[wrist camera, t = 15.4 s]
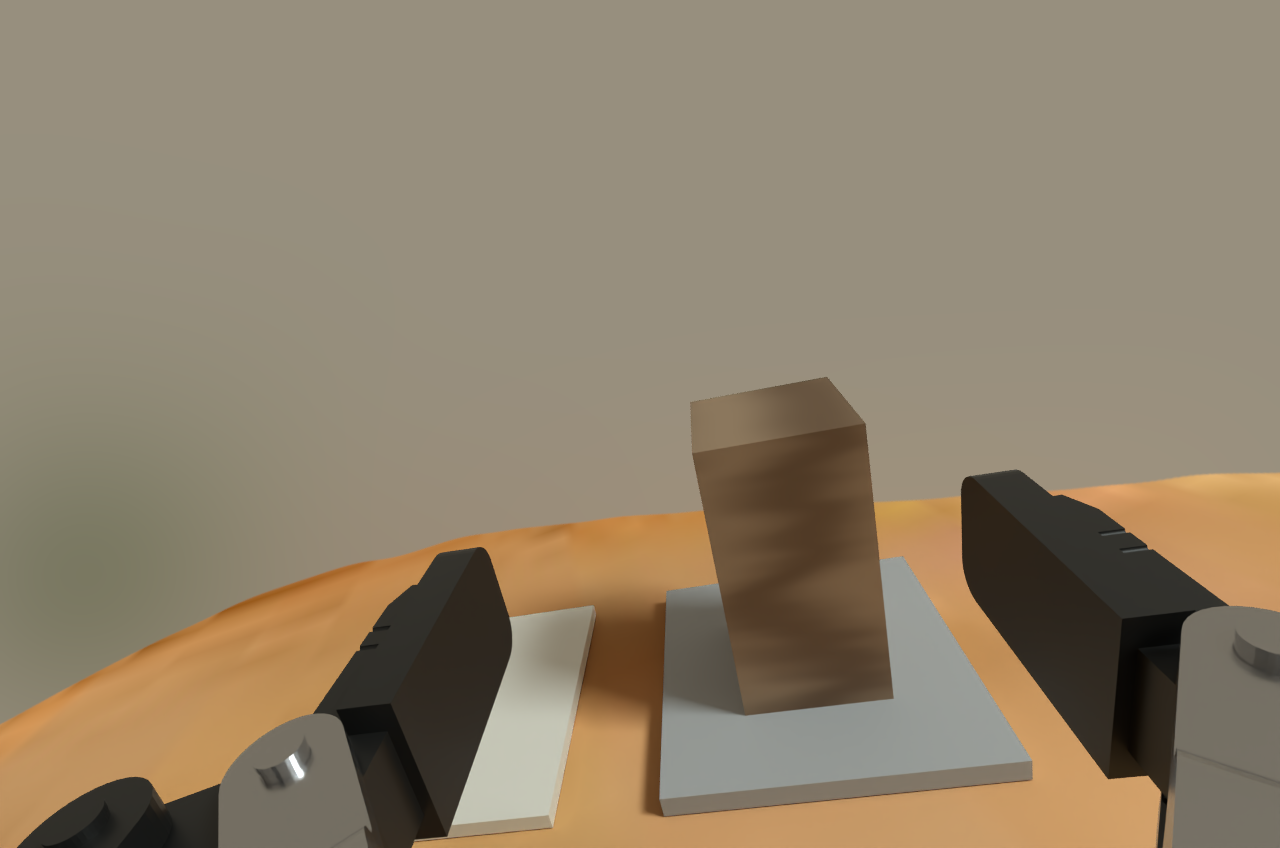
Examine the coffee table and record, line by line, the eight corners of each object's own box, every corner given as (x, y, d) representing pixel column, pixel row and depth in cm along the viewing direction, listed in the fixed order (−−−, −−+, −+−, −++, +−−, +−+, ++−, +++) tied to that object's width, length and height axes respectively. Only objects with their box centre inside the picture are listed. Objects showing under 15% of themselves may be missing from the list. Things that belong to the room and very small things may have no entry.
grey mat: (664, 816, 21) (659, 799, 21) (669, 603, 33) (666, 591, 32) (1032, 779, 20) (1032, 760, 19) (903, 569, 31) (902, 556, 31)
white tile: (248, 858, 23) (241, 846, 23) (389, 644, 35) (385, 635, 34) (552, 827, 22) (548, 814, 22) (596, 614, 33) (593, 604, 33)
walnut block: (745, 715, 24) (692, 453, 20) (734, 623, 29) (690, 402, 25) (893, 698, 23) (865, 423, 19) (854, 607, 28) (826, 376, 24)
